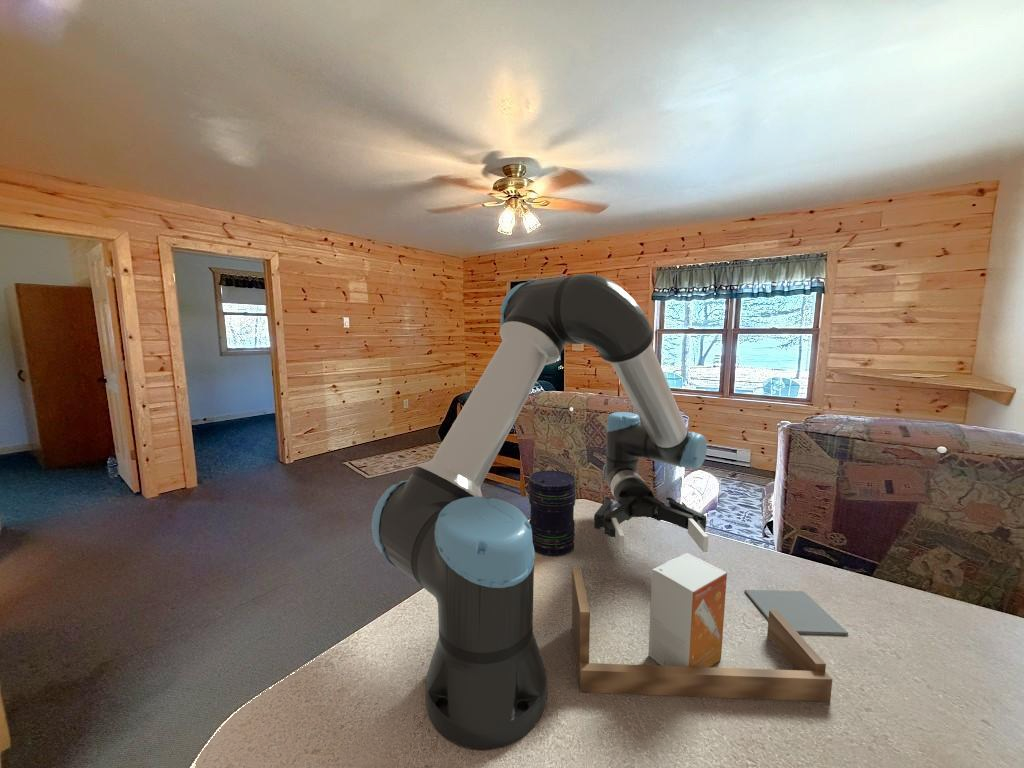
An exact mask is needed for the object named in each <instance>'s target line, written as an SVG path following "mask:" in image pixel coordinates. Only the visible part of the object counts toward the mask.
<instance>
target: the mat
mask: <svg viewBox="0 0 1024 768" xmlns="http://www.w3.org/2000/svg"><path fill="white" fill-rule="evenodd" d="M744 593H745V594H746V595H747V596H748V598H749V599H750V600H751V601H752V603H754V605H755V606H756V607H757V608H758V609H759V611H760V612H761V614H763V616H764V617H765V618H766V619H767V620H769V610H778V611H779V613H780V614H781V615H782V616H783V617H784V618H785V619H786V620H787V621H788V623H789V624H790V625H791V626H792V627H793V628H794V629H795V630H796V631H797V632H798V634H799V635H800V634H801V635H803V634H804V635H805V634H806V635H832V636H833V635H835V636H837V635H838V636H848V635H849V632H848V631H847V630H846V629H845V628H844V627H843V626H842V625H841V624H840V623H839V622H837V620H836V619H834V618H833V617H832V616H831V615H830V614H829V613H828V612H826V610H825V609H823V607H822V606H820V605H819V604H818V603H817V602H816V601H815V600H814V599H813V598H811V597H810V596H809V595H808V593H806V592H805V590H773V589H772V590H771V589H768V590H767V589H744Z"/></svg>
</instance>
